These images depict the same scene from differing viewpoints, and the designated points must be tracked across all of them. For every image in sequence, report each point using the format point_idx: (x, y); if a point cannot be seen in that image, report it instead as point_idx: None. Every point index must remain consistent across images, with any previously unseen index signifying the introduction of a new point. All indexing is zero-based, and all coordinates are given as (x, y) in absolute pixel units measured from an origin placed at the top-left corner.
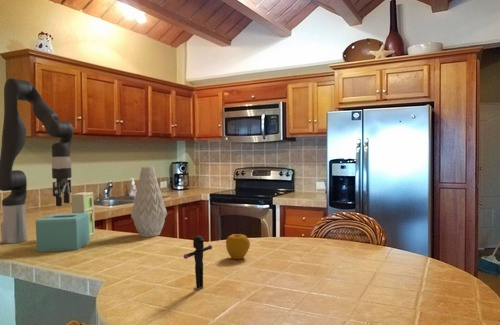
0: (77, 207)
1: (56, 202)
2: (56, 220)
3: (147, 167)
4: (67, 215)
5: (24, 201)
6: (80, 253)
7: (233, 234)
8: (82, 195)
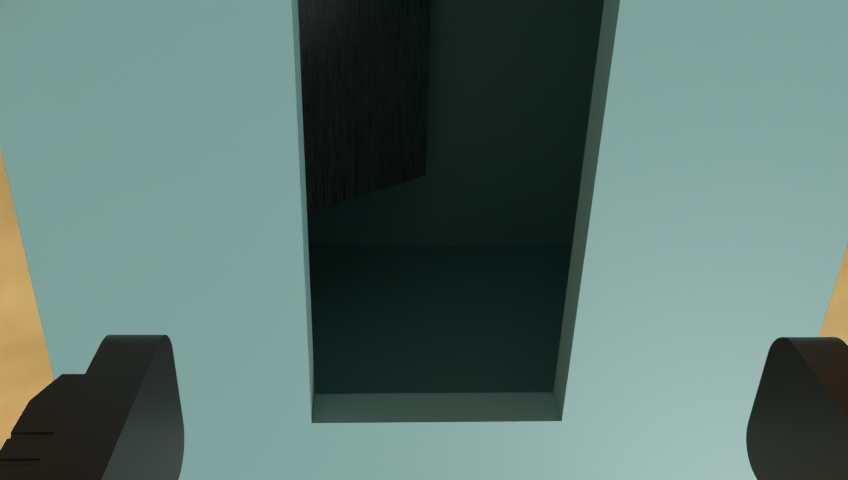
0: None
1: (14, 443)
2: (28, 214)
3: None
4: (585, 247)
5: None
6: (37, 327)
7: None
8: None
